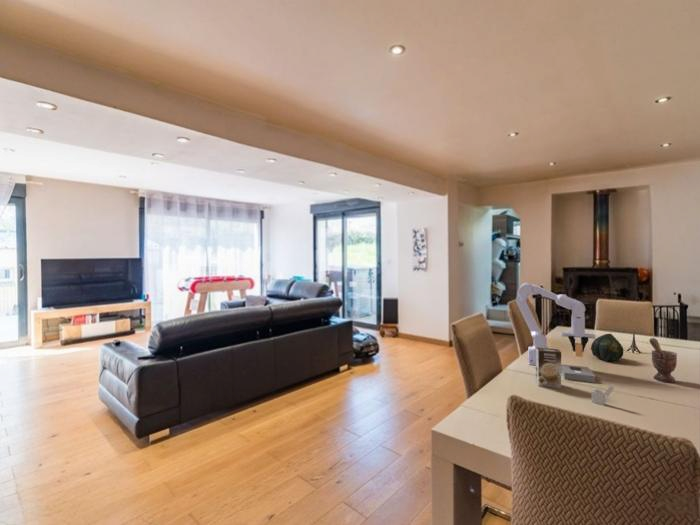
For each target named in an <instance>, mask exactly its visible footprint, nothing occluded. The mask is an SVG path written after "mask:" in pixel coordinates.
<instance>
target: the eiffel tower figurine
mask: <svg viewBox="0 0 700 525" xmlns="http://www.w3.org/2000/svg"><path fill="white" fill-rule="evenodd" d="M627 349H628V350H627V351H626V352H628V351H629V350H632V353H631V354H635V353H634V351H636V350H637V352H639V353H638V354H642V351H641V350H639V347H637V344H636V337H635V331H633V332H632V342H631V345H630V346H629V348H627Z"/></svg>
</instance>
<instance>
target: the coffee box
mask: <svg viewBox="0 0 700 525" xmlns="http://www.w3.org/2000/svg"><path fill="white" fill-rule="evenodd" d="M561 364H562V351H561V350H560V349H558V348H551V347H548V348H539V347H536V365H535V383H536V384H537V387H546V388H554V389H562V373H561Z"/></svg>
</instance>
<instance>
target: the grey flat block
mask: <svg viewBox="0 0 700 525" xmlns="http://www.w3.org/2000/svg"><path fill="white" fill-rule="evenodd" d="M595 375H596V374H594V373H593V372H592V370H591V369H590V367H589V366H582V365H581V366H580V365H572V364H571V365H570V364H562V363H561V376H562V377H563V379H564V380H567V379H569V380H568V381H576V380H579V381H578V382H585V381H586V383H594V382H595V383H596V376H595Z"/></svg>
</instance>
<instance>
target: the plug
mask: <svg viewBox="0 0 700 525" xmlns="http://www.w3.org/2000/svg"><path fill="white" fill-rule="evenodd" d="M573 355H574V356H575V357H580V358H583V352H582V344H581V342H575V352H573Z"/></svg>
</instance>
